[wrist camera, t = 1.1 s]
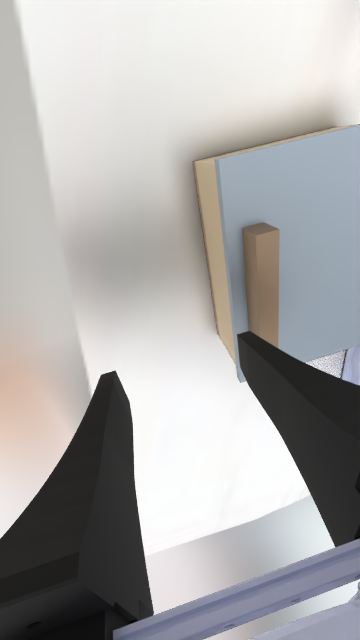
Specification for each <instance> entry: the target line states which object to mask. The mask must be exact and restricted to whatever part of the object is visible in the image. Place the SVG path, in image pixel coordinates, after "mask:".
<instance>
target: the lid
mask: <svg viewBox="0 0 360 640" xmlns="http://www.w3.org/2000/svg"><path fill="white" fill-rule="evenodd" d="M214 162H215V171H216V180H217V190H218V199H219V209H220V218H221V227H222V237H223V246H224V256H225V265H226V274H227V284H228V293H229V303H230V312H231V321H232V331H233V340H234V350H235V359H236V368H237V377H238V379H239V381H240V383H241V382H244V381H246V379H245V377H244V375H243V373H242V370H241V368H240V362H239V351H238V341H237V334H240V333H243V332H247V331H251V332H253V333H254V334H256V335H258V336H259V337H261V338H262V339H264V340H265V341H267V342H269V343H270V344H272V345H274V346H275V347H277V348H278V349H280V350H282V351H284V352H285V353H287V354H289V355H291V356H292V357H294V358H296V359H298V360H300V361H302V362H304V363H305V362H308V361H312V360H315V359H318V358H321V357H324V356H328V355H331V354H334V353H337V352H340V351H344V350H347V349H350V348H353V347H356V346H360V124H358V125H354V126H350V127H346V128H341V129H337V130H333V131H329V132H325V133H321V134H317V135H313V136H308V137H304V138H300V139H296V140H292V141H288V142H284V143H280V144H276V145H271V146H267V147H263V148H259V149H255V150H251V151H247V152H243V153H238V154H234V155H230V156H226V157H222V158H218V159H214Z"/></svg>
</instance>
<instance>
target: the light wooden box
mask: <svg viewBox="0 0 360 640" xmlns="http://www.w3.org/2000/svg"><path fill="white" fill-rule="evenodd" d="M350 126H354V125H350ZM350 126H340V127H334V128H330V129H326V130H322V131H317V132H313V133H309V134H305V135H301V136H297V137H293V138H289V139H284V140H280V141H276V142H272V143H268V144H264V145H260V146H255V147H251V148H247V149H243V150H239V151H235V152H231V153H227V154H222V155H218V156H214V157H210V158H206V159H202V160H198V161H193V167H194V174H195V181H196V188H197V195H198V202H199V209H200V215H201V222H202V229H203V236H204V243H205V250H206V257H207V264H208V271H209V278H210V284H211V291H212V298H213V305H214V312H215V319H216V326H217V333H218V336H219V337H220V339H221V341H222V342H223V344H224V346H225V347H226V349H227V351H228V352H229V354H230V356H231V357H232V359H233V361H234V363H235V364H236V359H235V350H234V340H233V331H232V321H231V312H230V303H229V293H228V284H227V274H226V265H225V256H224V246H223V237H222V227H221V218H220V209H219V199H218V190H217V180H216V171H215V162H214V159H218V158H222V157H226V156H230V155H234V154H238V153H243V152H247V151H251V150H255V149H259V148H263V147H267V146H271V145H276V144H280V143H284V142H288V141H292V140H296V139H300V138H304V137H308V136H313V135H317V134H321V133H325V132H329V131H333V130H337V129H341V128H346V127H350Z"/></svg>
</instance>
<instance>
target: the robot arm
mask: <svg viewBox="0 0 360 640" xmlns="http://www.w3.org/2000/svg"><path fill="white" fill-rule="evenodd" d="M237 341H238V351H239V362H240V368H241V370H242V373H243V375H244V377H245V379H246V381H247V383H248V385H249V387H250V388H251V390H252V391H253V393H254V394H255V396H256V398H257V399H258V401H259V402H260V404H261V405H262V407H263V408H264V410H265V411H266V413H267V414H268V416H269V417H270V419H271V420H272V422H273V423H274V425H275V426H276V428H277V430H278V431H279V433H280V435H281V436H282V438H283V440H284V442H285V444H286V446H287V448H288V450H289V452H290V453H291V455H292V457H293V459H294V461H295V463H296V465H297V467H298V469H299V471H300V473H301V475H302V477H303V479H304V481H305V483H306V485H307V487H308V489H309V491H310V493H311V495H312V497H313V500H314V501H315V504H316V505H317V508H318V510H319V512H320V514H321V517H322V519H323V521H324V523H325V525H326V527H327V530H328V532H329V534H330V536H331V538H332V541H333V543H334V545H335V547H336V548H333V549H330V550H328V551H325V552H322V553H320V554H317V555H314V556H312V557H309V558H306V559H304V560H301V561H298V562H296V563H293V564H290V565H288V566H285V567H283V568H279V569H277V570H274V571H271V572H269V573H266V574H264V575H261V576H258V577H255V578H253V579H250V580H247V581H245V582H242V583H239V584H237V585H234V586H232V587H229V588H226V589H223V590H221V591H218V592H215V593H213V594H210V595H207V596H205V597H202V598H199V599H197V600H194V601H191V602H189V603H186V604H183V605H180V606H178V607H175V608H172V609H170V610H167V611H164V612H162V613H159V614H156V615H154V616H153V614H154V611H153V605H152V600H151V594H150V588H149V581H148V576H147V569H146V563H145V556H144V550H143V543H142V536H141V529H140V522H139V514H138V507H137V498H136V490H135V479H134V452H133V423H132V415H131V409H130V403H129V400H128V397H127V395H126V393H125V391H124V389H123V386H122V384H121V382H120V380H119V377H118V375H117V373H116V371H112V372H109V373H106V374H102V375H101V377H100V379H99V381H98V384H97V387H96V389H95V392H94V394H93V397H92V399H91V401H90V404H89V406H88V408H87V410H86V413H85V415H84V417H83V419H82V421H81V423H80V425H79V427H78V429H77V431H76V433H75V435H74V437H73V439H72V441H71V442H70V444H69V446H68V448H67V450H66V451H65V453H64V454H63V456H62V458H61V459H60V461H59V463H58V464H57V466H56V467H55V469H54V470H53V472H52V473H51V475H50V476H49V478H48V479H47V481H46V482H45V483H44V485H43V486H42V488H41V489H40V491H39V492H38V493H37V495H36V496H35V497H34V498H33V500H32V501H31V502H30V504H29V505H28V506H27V508H26V509H25V510H24V511H23V513H22V514H21V515H20V516H19V518H18V519H17V520H16V521H15V522H14V524H13V525H12V526H11V527H10V528H9V530H8V531H7V532H6V533H5V534H4V535H3V537H2V538H1V539H0V640H203V639H206V638H208V637H211V636H213V635H216V634H218V633H221V632H223V631H226V630H229V629H232V628H234V627H237V626H239V625H242V624H244V623H247V622H249V621H252V620H255V619H257V618H260V617H262V616H265V615H268V614H270V613H273V612H275V611H278V610H280V609H283V608H286V607H288V606H291V605H294V604H296V603H299V602H301V601H304V600H306V599H309V598H312V597H314V596H317V595H319V594H322V593H325V592H327V591H330V590H332V589H335V588H338V587H340V586H343V585H345V584H348V583H351V582H353V581H356V580H358V579H360V346H356V347H353V348H350V349H347V355H346V360H345V365H344V370H343V375H342V379H340V378H337V377H335V376H333V375H330V374H328V373H325V372H323V371H321V370H318V369H316V368H314V367H312V366H310V365H308V364H306V363H304V362H302V361H300V360H298V359H296V358H294V357H292V356H291V355H289V354H287V353H285V352H284V351H282V350H280V349H278V348H277V347H275V346H274V345H272V344H270V343H269V342H267V341H265V340H264V339H262V338H261V337H259V336H258V335H256V334H254V333H253V332H251V331H247V332H243V333H240V334H237ZM358 589H359V590H358V592H357V594H356V595H355V596H353V597H352V598H351V600H349V602H348V603H345V604H342V605H339V606H336V607H333V608H330V609H327V610H324V611H321V612H318V613H315V614H312V615H310V616H307V617H304V618H301V619H298V620H296V621H293V622H290V623H288V624H285V625H283V626H280V627H277V628H275V629H272V630H270V631H267V632H265V633H263V634H260V635H258V636H255V637H253V638H250V639H248V640H360V582H359V583H358Z"/></svg>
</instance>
